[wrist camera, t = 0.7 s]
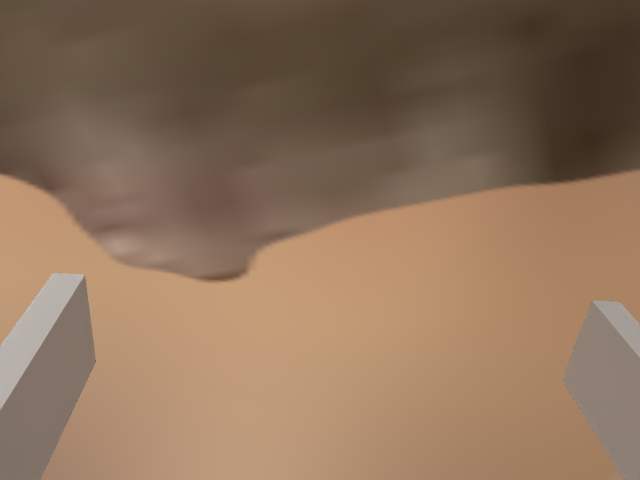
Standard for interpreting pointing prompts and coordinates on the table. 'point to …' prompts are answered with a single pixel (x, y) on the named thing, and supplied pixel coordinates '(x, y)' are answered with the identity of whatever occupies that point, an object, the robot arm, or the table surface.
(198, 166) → the table surface
